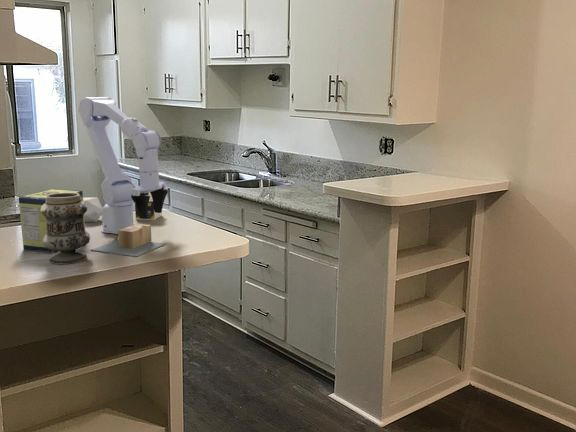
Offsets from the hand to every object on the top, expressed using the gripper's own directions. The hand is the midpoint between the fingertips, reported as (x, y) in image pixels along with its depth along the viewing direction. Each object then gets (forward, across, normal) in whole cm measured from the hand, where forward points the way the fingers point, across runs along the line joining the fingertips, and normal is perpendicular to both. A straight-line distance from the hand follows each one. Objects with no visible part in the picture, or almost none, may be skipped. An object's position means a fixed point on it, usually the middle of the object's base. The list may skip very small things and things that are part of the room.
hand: (151, 215), depth 183 cm
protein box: (+8, -18, +22) cm, 29 cm away
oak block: (+5, -4, 0) cm, 6 cm away
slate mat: (+7, -12, 0) cm, 14 cm away
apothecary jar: (+8, -28, +8) cm, 30 cm away
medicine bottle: (+8, +24, +18) cm, 31 cm away
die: (+8, +12, +34) cm, 37 cm away
